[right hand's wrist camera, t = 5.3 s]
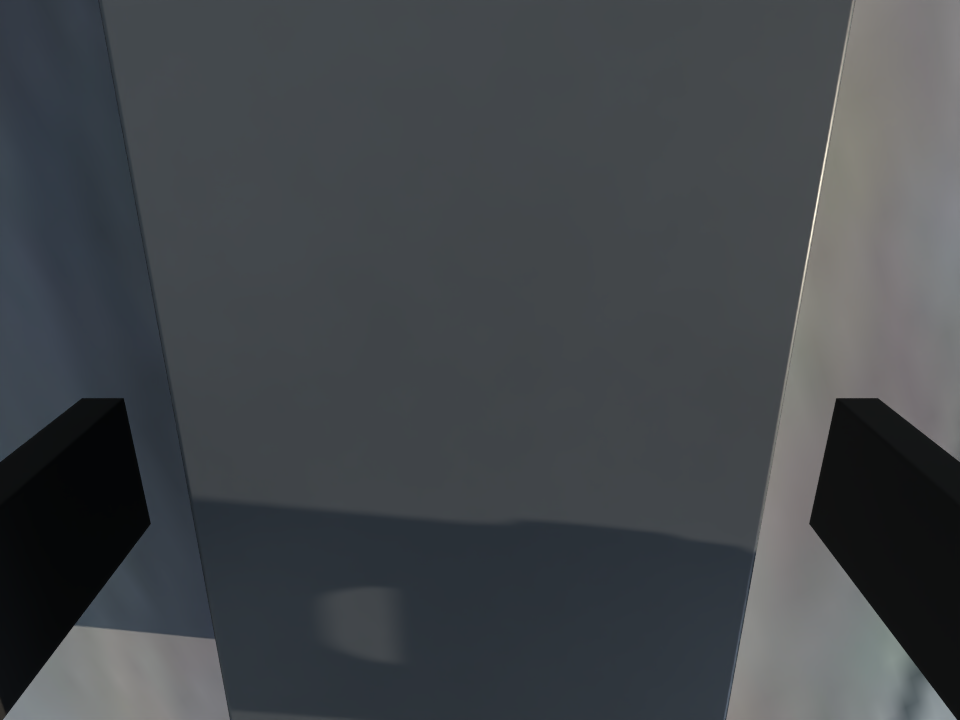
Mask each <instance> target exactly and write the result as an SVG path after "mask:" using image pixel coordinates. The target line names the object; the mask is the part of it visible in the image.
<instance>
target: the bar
mask: <svg viewBox="0 0 960 720" xmlns="http://www.w3.org/2000/svg"><path fill="white" fill-rule="evenodd" d="M854 5H855V0H99V6H100V11H101V17H102V22H103V28H104V33H105V39H106V44H107V50H108V55H109V61H110V66H111V71H112V77H113V82H114V88H115V93H116V99H117V104H118V110H119V115H120V121H121V126H122V132H123V137H124V143H125V148H126V153H127V159H128V164H129V170H130V175H131V181H132V186H133V192H134V197H135V203H136V208H137V214H138V219H139V225H140V230H141V235H142V241H143V246H144V252H145V257H146V263H147V268H148V274H149V279H150V285H151V290H152V296H153V301H154V307H155V312H156V317H157V323H158V328H159V334H160V339H161V345H162V350H163V356H164V361H165V367H166V372H167V378H168V383H169V389H170V394H171V399H172V405H173V410H174V416H175V421H176V427H177V432H178V438H179V443H180V449H181V454H182V460H183V465H184V470H185V476H186V481H187V487H188V492H189V498H190V503H191V509H192V514H193V520H194V525H195V531H196V536H197V542H198V547H199V552H200V558H201V563H202V569H203V574H204V580H205V585H206V591H207V596H208V602H209V607H210V613H211V618H212V624H213V629H214V634H215V640H216V645H217V651H218V656H219V662H220V667H221V673H222V678H223V684H224V689H225V695H226V700H227V706H228V711H229V716H230V720H726V717H727V711H728V706H729V700H730V694H731V689H732V683H733V678H734V672H735V667H736V661H737V656H738V650H739V644H740V639H741V633H742V628H743V622H744V617H745V611H746V606H747V600H748V594H749V589H750V583H751V578H752V572H753V567H754V561H755V556H756V550H757V544H758V539H759V533H760V528H761V522H762V517H763V511H764V506H765V500H766V494H767V489H768V483H769V478H770V472H771V467H772V461H773V456H774V450H775V444H776V439H777V433H778V428H779V422H780V417H781V411H782V406H783V400H784V394H785V389H786V383H787V378H788V372H789V367H790V361H791V355H792V350H793V344H794V339H795V333H796V328H797V322H798V317H799V311H800V305H801V300H802V294H803V289H804V283H805V278H806V272H807V267H808V261H809V255H810V250H811V244H812V239H813V233H814V228H815V222H816V217H817V211H818V205H819V200H820V194H821V189H822V183H823V178H824V172H825V167H826V161H827V155H828V150H829V144H830V139H831V133H832V128H833V122H834V117H835V111H836V105H837V100H838V94H839V89H840V83H841V78H842V72H843V66H844V61H845V55H846V50H847V44H848V39H849V33H850V28H851V22H852V16H853V11H854Z"/></svg>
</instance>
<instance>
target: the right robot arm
mask: <svg viewBox="0 0 960 720" xmlns="http://www.w3.org/2000/svg"><path fill="white" fill-rule="evenodd" d="M150 524H151V523H150V518H149V514H148V509H147V504H146V500H145V495H144V490H143V486H142V481H141V477H140V472H139V467H138V463H137V458H136V453H135V449H134V444H133V439H132V435H131V430H130V425H129V421H128V416H127V412H126V407H125V402H124V398H82V399H81V400H79V401H78V402H77V403H75V404H74V405H73V406H72V407H70V408H69V409H68V410H67V411H65V412H64V413H63V414H61V415H60V416H59V417H58V418H56V419H55V420H54V421H52V422H51V423H50V424H49V425H47V426H46V427H45V428H43V429H42V430H41V431H40V432H38V433H37V434H36V435H34V436H33V437H32V438H31V439H29V440H28V441H27V442H26V443H24V444H23V445H22V446H20V447H19V448H18V449H17V450H15V451H14V452H13V453H11V454H10V455H9V456H8V457H6V458H5V459H4V460H2V461H1V462H0V720H3V719H4V717H5V716H6V715H7V714H8V712H9V711H10V710H11V708H12V707H13V706H14V704H15V703H16V702H17V700H18V699H19V698H20V696H21V695H22V694H23V692H24V691H25V690H26V688H27V687H28V686H29V684H30V683H31V682H32V680H33V679H34V678H35V676H36V675H37V674H38V672H39V671H40V670H41V668H42V667H43V666H44V664H45V663H46V662H47V661H48V659H49V658H50V657H51V655H52V654H53V653H54V651H55V650H56V649H57V647H58V646H59V645H60V643H61V642H62V641H63V639H64V638H65V637H66V635H67V634H68V633H69V631H70V630H71V629H72V627H73V626H74V625H75V623H76V622H77V621H78V619H79V618H80V617H81V615H82V614H83V613H84V612H85V610H86V609H87V608H88V606H89V605H90V604H91V602H92V601H93V600H94V598H95V597H96V596H97V594H98V593H99V592H100V590H101V589H102V588H103V586H104V585H105V584H106V582H107V581H108V580H109V578H110V577H111V576H112V574H113V573H114V572H115V570H116V569H117V568H118V566H119V565H120V564H121V563H122V561H123V560H124V559H125V557H126V556H127V555H128V553H129V552H130V551H131V549H132V548H133V547H134V545H135V544H136V543H137V541H138V540H139V539H140V537H141V536H142V535H143V533H144V532H145V531H146V529H147V528H148V527H149V525H150ZM809 524H810V525H811V527H812V528H813V529H814V531H815V532H816V533H817V535H818V536H819V537H820V539H821V540H822V541H823V543H824V544H825V545H826V547H827V548H828V549H829V551H830V552H831V553H832V555H833V556H834V557H835V559H836V560H837V561H838V563H839V564H840V565H841V566H842V568H843V569H844V570H845V572H846V573H847V574H848V576H849V577H850V578H851V580H852V581H853V582H854V584H855V585H856V586H857V588H858V589H859V590H860V592H861V593H862V594H863V596H864V597H865V598H866V600H867V601H868V602H869V604H870V605H871V606H872V608H873V609H874V610H875V612H876V613H877V614H878V615H879V617H880V618H881V619H882V621H883V622H884V623H885V625H886V626H887V627H888V629H889V630H890V631H891V633H892V634H893V635H894V637H895V638H896V639H897V641H898V642H899V643H900V645H901V646H902V647H903V649H904V650H905V651H906V653H907V654H908V655H909V657H910V658H911V659H912V661H913V662H914V663H915V664H916V666H917V667H918V668H919V670H920V671H921V672H922V674H923V675H924V676H925V678H926V679H927V680H928V682H929V683H930V684H931V686H932V687H933V688H934V690H935V691H936V692H937V694H938V695H939V696H940V698H941V699H942V700H943V702H944V703H945V704H946V706H947V707H948V708H949V710H950V711H951V712H952V714H953V715H954V716H955V717H956V719H957V720H960V462H959V461H958V460H956V459H955V458H954V457H952V456H951V455H950V454H949V453H947V452H946V451H945V450H943V449H942V448H941V447H940V446H938V445H937V444H936V443H934V442H933V441H932V440H931V439H929V438H928V437H927V436H926V435H924V434H923V433H922V432H920V431H919V430H918V429H917V428H915V427H914V426H913V425H911V424H910V423H909V422H908V421H906V420H905V419H904V418H902V417H901V416H900V415H899V414H897V413H896V412H895V411H893V410H892V409H891V408H890V407H888V406H887V405H886V404H885V403H883V402H882V401H881V400H879V399H878V398H836V402H835V407H834V412H833V416H832V421H831V425H830V430H829V435H828V439H827V444H826V449H825V453H824V458H823V463H822V467H821V472H820V477H819V481H818V486H817V490H816V495H815V500H814V504H813V509H812V514H811V518H810V523H809Z"/></svg>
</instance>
